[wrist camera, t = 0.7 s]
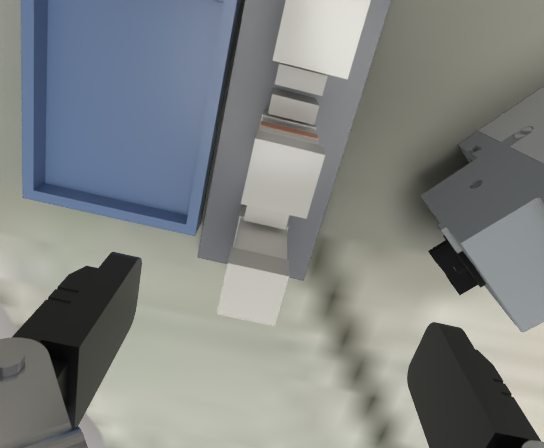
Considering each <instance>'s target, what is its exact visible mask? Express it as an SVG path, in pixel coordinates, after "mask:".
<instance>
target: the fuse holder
mask: <svg viewBox="0 0 544 448" xmlns="http://www.w3.org/2000/svg"><path fill="white" fill-rule="evenodd" d="M285 1H286V0H245V5H244V10H243V15H242V21H241V26H240V32H239V37H238V42H237V48H236V53H235V58H234V64H233V69H232V75H231V80H230V85H229V91H228V96H227V101H226V107H225V112H224V118H223V123H222V128H221V134H220V139H219V144H218V150H217V155H216V161H215V166H214V171H213V177H212V182H211V187H210V193H209V198H208V204H207V209H206V214H205V220H204V225H203V231H202V236H201V241H200V247H199V252H198V258H202V259H207V260H211V261H216V262H220V263H225V264H228V260H229V256H230V252H231V248H232V247H233V243H234V239H235V234H236V230H237V225H238V221H239V216H240V212H241V208H242V206H245V207H246V212H245V216H244V221H249V222H253V223H257V224H262V225H266V226H271V227H275V228H279V229H284V230H285V229H286V226H287V222H288V219H289V228H288V231H287V260H289V278H293V279H298V280H303V281H304V278H305V275H306V271H307V268H308V265H309V262H310V259H311V255H312V252H313V249H314V246H315V243H316V239H317V236H318V233H319V230H320V227H321V223H322V220H323V217H324V214H325V211H326V207H327V204H328V201H329V198H330V195H331V191H332V188H333V185H334V182H335V179H336V175H337V172H338V169H339V166H340V163H341V159H342V156H343V153H344V150H345V147H346V143H347V140H348V137H349V134H350V131H351V127H352V124H353V121H354V118H355V115H356V111H357V108H358V105H359V102H360V98H361V95H362V92H363V89H364V86H365V82H366V79H367V76H368V73H369V70H370V66H371V63H372V60H373V57H374V54H375V50H376V47H377V44H378V41H379V38H380V34H381V31H382V28H383V25H384V22H385V18H386V15H387V12H388V9H389V6H390V2H391V0H371V2H370V5H369V8H368V12H367V15H366V19H365V22H364V25H363V29H362V32H361V36H360V39H359V42H358V46H357V49H356V53H355V56H354V59H353V63H352V66H351V70H350V73H349V76H348V80H347V79H343V78H339V77H336V76H332V75H328V74H324V73H320V72H316V71H312V70H308V69H304V68H300V67H296V66H292V65H288V64H284V63H281V62H277V61H273V56H274V51H275V47H276V42H277V37H278V33H279V28H280V24H281V19H282V15H283V10H284V6H285ZM263 110H268V114H272V115H276V116H280V117H284V118H288V119H292V120H296V121H300V122H304V123H308V124H312V125H314V124H315V125H316V131H315V132H316V134H317V135H318V138H319V140H318V142H319V145H321V146H323V149H324V153H325V158H324V161H323V165H322V168H321V171H320V175H319V178H318V181H317V185H316V188H315V192H314V195H313V198H312V202H311V205H310V209H309V212H308V215H307V219H305V218H300V217H296V216H292V215H287V214H283V213H278V212H274V211H270V210H265V209H261V208H257V207H252V206H248V205H244V204H241V200H242V196H243V191H244V187H245V182H246V178H247V173H248V169H249V164H250V160H251V155H252V151H253V146H254V142H255V137H256V134H257V130H259V127H260V122H261V118H262V113H263Z"/></svg>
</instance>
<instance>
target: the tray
mask: <svg viewBox="0 0 544 448" xmlns="http://www.w3.org/2000/svg"><path fill="white" fill-rule="evenodd" d="M240 5H241V0H21V62H22V184H23V198H26V199H31V200H35V201H40V202H44V203H48V204H53V205H57V206H62V207H66V208H71V209H75V210H80V211H84V212H89V213H93V214H98V215H102V216H107V217H111V218H116V219H120V220H125V221H129V222H134V223H138V224H143V225H147V226H152V227H156V228H161V229H165V230H170V231H174V232H179V233H183V234H188V235H192V236H195V235H196V233H197V230H198V228H199V226H200V224H201V219H202V214H203V208H204V203H205V197H206V192H207V186H208V181H209V175H210V170H211V164H212V159H213V153H214V148H215V142H216V137H217V131H218V126H219V120H220V115H221V109H222V104H223V99H224V93H225V88H226V82H227V77H228V71H229V66H230V60H231V55H232V49H233V44H234V38H235V33H236V27H237V22H238V16H239V11H240Z"/></svg>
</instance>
